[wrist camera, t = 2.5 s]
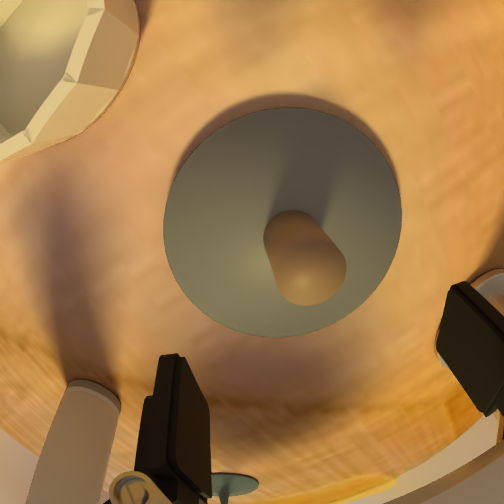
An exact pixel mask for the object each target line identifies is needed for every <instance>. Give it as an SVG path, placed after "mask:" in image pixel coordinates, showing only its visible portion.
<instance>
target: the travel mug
mask: <svg viewBox="0 0 504 504" xmlns="http://www.w3.org/2000/svg"><path fill="white" fill-rule="evenodd" d="M120 411H121V405H120V402H119V400H118V399H117V397H116V396H115V395H114V394H113V393H112V392H111V391H109V390H108V389H106V388H105V387H103V386H101V385H100V384H97V383H95V382H92V381H88V380H80V379H79V380H74V381H71V382H70V383H69V384H68V386H67V388H66V390H65V393H64V395H63V397H62V400H61V402H60V404H59V407H58V409H57V412H56V414H55V417H54V419H53V422H52V424H51V427H50V430H49V432H48V435H47V438H46V440H45V443H44V446H43V449H42V452H41V455H40V458H39V461H38V464H37V467H36V470H35V473H34V476H33V479H32V483H31V486H30V489H29V493H28V496H27V500H26V504H100V502H101V497H102V491H103V486H104V481H105V476H106V471H107V466H108V462H109V457H110V453H111V448H112V444H113V440H114V435H115V431H116V427H117V423H118V419H119V415H120Z"/></svg>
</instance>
